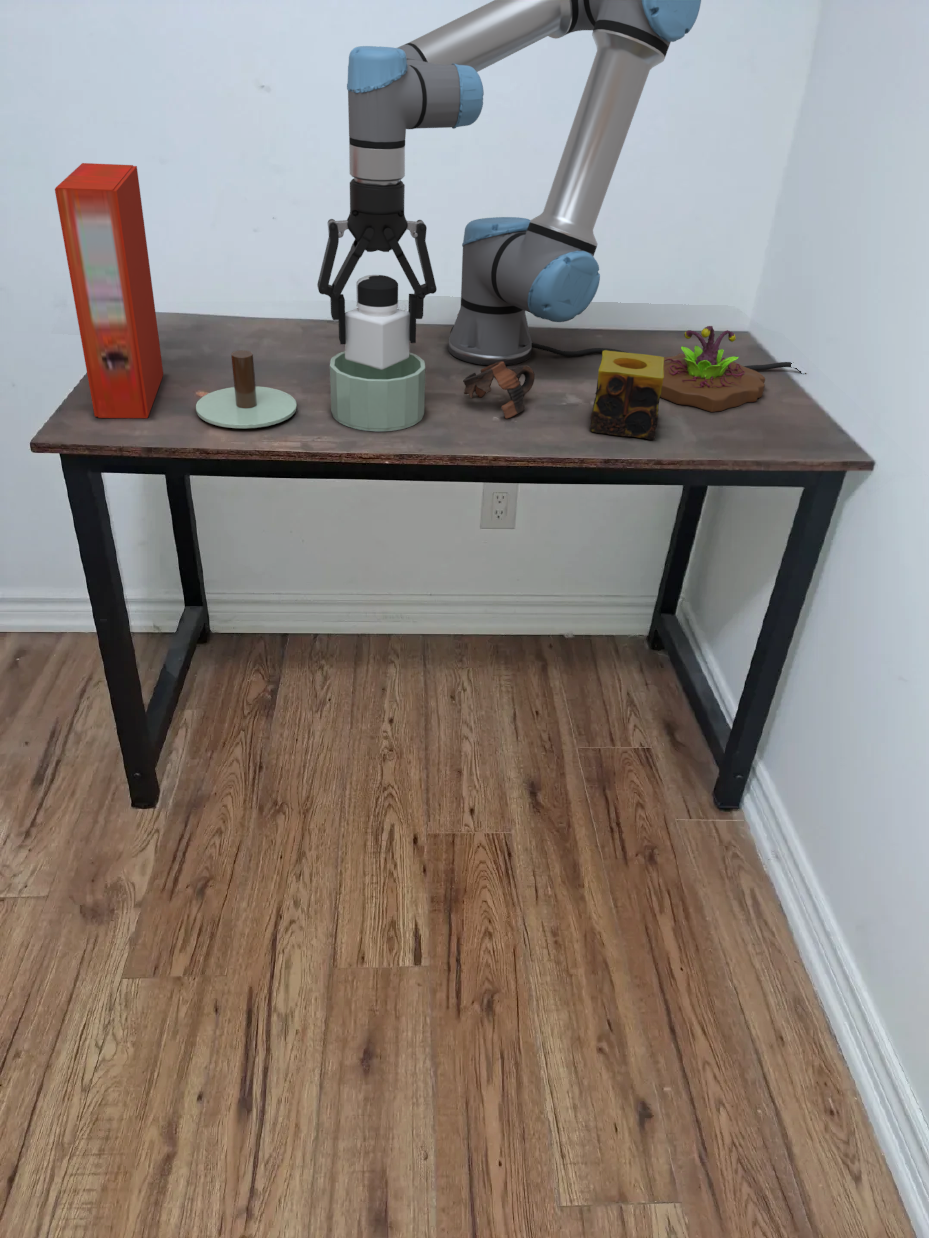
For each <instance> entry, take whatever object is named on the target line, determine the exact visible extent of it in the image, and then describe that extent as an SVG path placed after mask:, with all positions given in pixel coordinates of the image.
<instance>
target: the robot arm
mask: <svg viewBox="0 0 929 1238" xmlns="http://www.w3.org/2000/svg"><path fill="white" fill-rule="evenodd" d="M701 4H702V0H492V1H490V2H488V3H486V4H483V5H481V6H480V7H478V8H476V9H473V10H471V11H469V12H467V13H466V14H464V15H461V16H459V17H457V18H455V19H453V20H451V21H450V22H448V23H445V24H443V25H441V26H439V27H437V28H435V29H433V30H431V31H429V32H427V33H425V34H422V35H421V36H419V37H416V38H414V39H413V40H411V41H409V42H407V43H405V44H402V45H400V46H398V47H391V46H373V45H362V46H356V47H354V48H352V49H351V51H350V52H349V55H348V65H347V83H346V90H347V107H348V139H349V140H348V143H349V144H348V146H349V147H348V149H349V150H348V151H349V153H348V154H349V157H348V158H349V159H348V160H349V175H350V176H351V177H352V179H351V180H350V181H349V214H348V217H347V218H346V219H343V220H335V219H333V218H330V219H328V221H327V231H328V238H327V242H326V246H325V250H324V255H323V260H322V264H321V268H320V272H319V276H318V280H317V284H316V285H317V289H318V293H319V294H320V295H326V296H328V297H329V298H330V299H329V300H330V302H329V303H330V316H331V318H332V321H338V340H339V343H340V345H345V344H346V333H345V313H346V300H345V296H344V294H343V291H344V289H345V287H346V285H347V283H348V282H349V279H350V277H351V276H352V274H353V272H354V270H355V268H356V266H357V265H358V263H359V261H360V259H361V258H362V256H363V255H364V253H365V251H366V252H367V253H373V252H378V251H379V252H383V253H389V252H390V251H392V252H393V254H394V255H395V258H396V260H397V261H398V263H399V265H400V267H401V269H402V271H403V274H404V275H405V277H406V279H407V281H408V282H409V284H410V286H411V288H412V290H413V293H408V312H409V313H410V337H409V343H410V344H416V343H417V320H422V319H423V318H424V305H425V304H424V301H425V298H426V296H428V295H430V294H433V295H434V294H436V292H437V285H436V280H435V277H434V276H435V275H434V271H433V267H432V263H431V259H430V254H429V251H428V245H427V241H426V239H427V225H426V224H425V222H424V221H423V220H422V219H417V220H415V221H413V220H407V219H406V215H405V192H406V191H405V187H406V185H405V183H404V181H402V179H404V178H405V176H406V135H407V130H415V129H442V128H443V129H444V128H445V129H448V128H449V129H453V130H455V129H457V128H462V127H467V126H471V125H473V124H474V123H475V122H476V121H477V120H478V119H479V117H480V115H481V113H482V110H483V108H484V107H483V106H484V95H485V93H484V86H483V81H482V79H481V76H480V74H479V73H478V72H480V71H482V70H484V69H486V68H488V67H491V66H492V65H495V64H496V63H498V62H499V61H502V60H504V59H506V58H508V57H510V56H511V55H513V54H516V53H517V52H520V51H521V50H523V49H525V48H527V47H530V46H531V45H533V44H535V43H537V42H539V41H541V40H543V39H545V38H547V37H549V38H551V39H555V40H556V39H560V38H563V37H566V36H567V35H568V34H571V33H575V32H581V31H592V33H591V36H592V39H593V41H594V44H595V47H596V53H595V56H594V59H593V62H592V64H591V67H590V69H589V73H588V77H587V79H586V82H585V86H584V88H583V92H582V94H581V97H580V100H579V103H578V106H577V109H576V112H575V115H574V119H573V120H572V124H571V127H570V130H569V133H568V136H567V140H566V141H565V145H564V148H563V151H562V154H561V157H560V160H559V163H558V166H557V169H556V172H555V175H554V178H553V180H552V184H551V187H550V190H549V192H548V196H547V199H546V202H545V205H544V208H543V211H542V212H541V213H540V214H539V215H536V216H535V217H533V218H532V219H529V218H527V217H526V218H525V217H519V216H518V217H516V216H499V217H498V216H496V217H495V216H494V217H484V218H483V217H482V218H477V219H473V220H471V221H470V222H467V224H466V225H465V228H464V232H463V233H464V234H463V241H462V244H461V246H462V257H461V287H460V288H461V289H460V306H459V310H458V313H457V316H456V319H455V321H454V324H453V325H452V327H451V330H450V332H449V333H450V334H449V337H448V352H449V353H450V355H452V356H453V357H455V358H457V359H458V360H461V361H463V362H466V363H470V364H474V365H481V366H490V365H492V364H495V363H497V362H500V361H503V362H504V363H505V366H511V365H517V364H521V363H523V362H525V361H527V360H528V359H530V358H531V357H532V350H533V349H536V350H541V351H545V352H549V353H551V354H555V355H558V356H562V357H579V356H585V355H591V354H602V352H603V351H604V350H607V351H615V352H626V353H629V352H628V351H623V350H620V349H614V348H608V347H593V348H586V349H585V348H584V349H580V350H563V349H562V350H561V349H558V348H555V347H552V346H549V345H544V344H541V343H536V342H533V341H532V337H531V333H530V329H529V325H528V319H527V315H526V312H527V313H530V314H532V315H533V316H534V317H536V318H539V319H541V320H547V321H550V322H553V323H564V322H569V321H571V320H573V319H574V318H575V317H577V316H579V315H581V314H582V313H583V312H584V311H585V310H586V309H587V308H588V307H589V306H590V304H591V303H592V301H593V300H594V298H595V296H596V294H597V291H598V289H599V285H600V281H601V274H600V272H599V271H600V266H599V263H598V261H597V260H596V258H595V253H596V250H597V248H598V241H597V239H596V237H595V234H594V229H595V225H596V223H597V220H598V217H599V215H600V211H601V209H602V206H603V204H604V201H605V198H606V195H607V192H608V189H609V186H610V184H611V181H612V178H613V175H614V173H615V169H616V166H617V164H618V161H619V158H620V156H621V153H622V150H623V147H624V144H625V142H626V138H627V136H628V134H629V130H630V127H631V124H632V123H633V119H634V116H635V113H636V111H637V107H638V105H639V102H640V99H641V97H642V94H643V91H644V88H645V86H646V82H647V80H648V77H649V74H650V72H651V70H652V69H653V68H655V67H657V66H659V65H660V64H661V63H663V62H664V61H665V59H666V56H667V53H668V50H669V48H670V45H671V43H674V42H677V41H679V40H682V39H683V38H684V37H685V36H686V34H689V32H690V31H691V30H692V28H693V27H694V25H695V23H696V20H697V19H698V16H699V13H700V9H701ZM346 230H348V231H349V233H350V234H351V236H353V238H354V240H353V242H352V244H351V246H350V249H349V252H348V253H347V256H346V257H345V259H344V261H343V263H342V265H341V267H340V268H339V270H338V272H337V274H336V275H335V278H334V280H333V282H332V284H330V281H331V277H332V274H333V273H332V272H333V268H334V264H335V260H336V256H337V252H338V247H339V242H340V239H342V238H343V237H344V234H345V231H346ZM407 231H409V233H410V236H411V238H413V239H414V242H415V246H416V251H417V255H418V260H419V263H420V267H421V270H422V275H423V280H424V283H422V284H421V283H420V281H419V279H418V278H417V276H416V274H415V272H414V269H413V267H412V266H411V264H410V262H409V260H408V259H407V257H406V255H405V253H404V250H403V249H402V247H401V245H400V243H399V242H400V240H401V238H403V236H404V234H405V233H406V232H407ZM791 362H792V361H783V362H782V361H779V362H773V363H767V364H753V365H743V366H744V367H746V368H749V369H752V370H755V371H767V370H774V369H779V368H781V369H782V368H791V369H793V368H792V367H791V364H792V363H791ZM794 370H797V372H799V374H802V373H801V372H800V371H799V370H798V369H797V368H794ZM802 375H803V374H802Z"/></svg>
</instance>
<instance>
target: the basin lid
mask: <svg viewBox="0 0 929 1238" xmlns="http://www.w3.org/2000/svg"><path fill="white" fill-rule="evenodd" d="M230 357H231V359H230V360H231V367H232V368H231V369H232V377H233V379H232V380H233V386H231V387H226V388H225V387H224V388H220V389H217V390H214V391H211V392H209V393H207V394H205V395H203V396H202V397H200V398H199V399H198V401H197V402H196V404H195V412H196V415H197V416H198V417H199V418H200V419H201V420H203V421H205V422H206V423H208V424H210V425H215V426H218V427H222V428H232V429H257V428H265V427H269V426H274V425H276V424H280V423H282V422H284V421H286V420H289V419H290V418H291V417H293V415H294V414H295V413H296V412H297V407H298V406H297V405H298V403H297V401H296V399H295V398H294V397H293V396H292V395H291V394H290V393H287V392H285V391H283V390H280V389H276V388H272V387H267V386H256V385H257V384H256V373H255V361H254V360H255V359H254V353H253V352H252V351H250V350H245V349H242V350H235V351H232V352H231V354H230Z"/></svg>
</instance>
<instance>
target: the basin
mask: <svg viewBox="0 0 929 1238" xmlns="http://www.w3.org/2000/svg"><path fill="white" fill-rule="evenodd" d="M329 360H330V361H329V381H330V382H329V383H330V385H329V386H330V387H329V388H330V411H331V415H332V417H333V419H334V420H335V421H336V422H338V423H339V424H341V425H343V426H345V427H348V428H350V429H354V430H360V431H364V432H365V431H366V432H376V433H377V432H378V433H379V432H382V433H383V432H384V433H385V432H394V431H400V430H404V429H408V428H410V427H413V426H416V425H417V424H419V423H420V422H421V421H422V420H423V418H424V417H425V416H424V415H425V400H426V399H425V398H426V397H425V395H426V394H425V393H426V362H425V360H424V359H422V358H421V357H420V356H419V355H418V354H415V353H412V352H410V351H409V358H407V359H405V360H403V361H401V362H399V363H397V364H394V365H392V366H390V367H388V368H386V369H384V370H380V369H376V368H373V367H369V366H366V365H363V364H359V363H356V362H352V361H349V360H346V359H345V350H344V351H341V352H338V353H336V354H335V355H334V356H332V357H331V358H330V359H329Z"/></svg>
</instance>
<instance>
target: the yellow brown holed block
mask: <svg viewBox="0 0 929 1238" xmlns="http://www.w3.org/2000/svg"><path fill="white" fill-rule="evenodd" d="M626 352H627V351H624V352H615V351H607V350H604V351H603V352H602V353H601V359H600V364H599V366H598V372H597V383H596V390H595V398H594V401H593V405H592V412H591V416H590V426H589V430H590V432H592V433H596V434H603V435H611V436H616V437H617V436H618V437H628V438H629V437H630V438H631V437H633V438H638V439H643V440H648V441H654V440H655V439H656V438H655V437H656V432H657V425H658V420H659V408H660V407H659V406H660V399H661V390H662V385H663V378H664V370H663V367H664V357H665V356H660V355H652V354H645V353H644V354H643V353H634V352H628V353H626Z"/></svg>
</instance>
